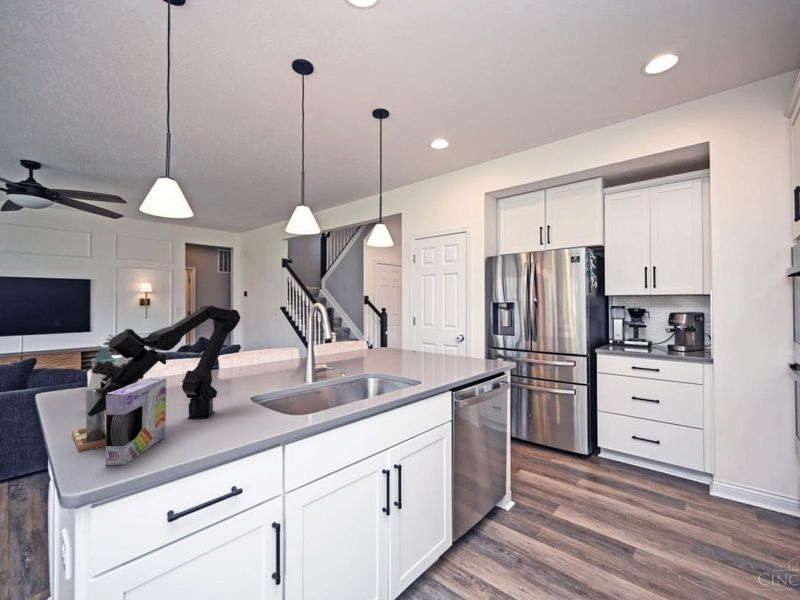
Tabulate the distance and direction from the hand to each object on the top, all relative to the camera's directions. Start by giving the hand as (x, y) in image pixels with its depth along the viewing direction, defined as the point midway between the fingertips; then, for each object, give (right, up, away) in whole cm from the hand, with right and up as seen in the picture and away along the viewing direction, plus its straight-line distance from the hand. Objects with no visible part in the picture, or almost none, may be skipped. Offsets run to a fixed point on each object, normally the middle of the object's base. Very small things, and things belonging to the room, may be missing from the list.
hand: (88, 412), depth 100 cm
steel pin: (+1, -9, +1) cm, 9 cm away
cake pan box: (+17, -9, -5) cm, 20 cm away
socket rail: (-2, -9, +4) cm, 10 cm away
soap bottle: (-23, -10, +33) cm, 41 cm away
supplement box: (-36, -10, +53) cm, 64 cm away
